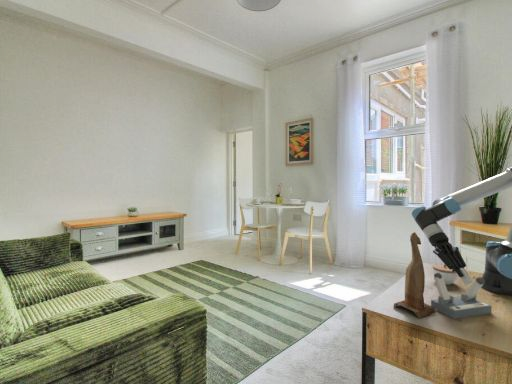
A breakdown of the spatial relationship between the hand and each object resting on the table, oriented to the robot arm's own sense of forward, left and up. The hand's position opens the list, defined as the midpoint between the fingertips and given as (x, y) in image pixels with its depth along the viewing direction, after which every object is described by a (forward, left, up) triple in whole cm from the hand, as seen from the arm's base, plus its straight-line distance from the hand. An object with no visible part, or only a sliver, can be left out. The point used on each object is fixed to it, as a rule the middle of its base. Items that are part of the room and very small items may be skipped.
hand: (469, 283), depth 115 cm
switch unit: (+5, +3, -10) cm, 12 cm away
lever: (+11, +4, -6) cm, 13 cm away
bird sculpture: (+24, +5, -10) cm, 27 cm away
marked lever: (0, 0, -6) cm, 6 cm away
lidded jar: (-6, -28, -10) cm, 30 cm away
